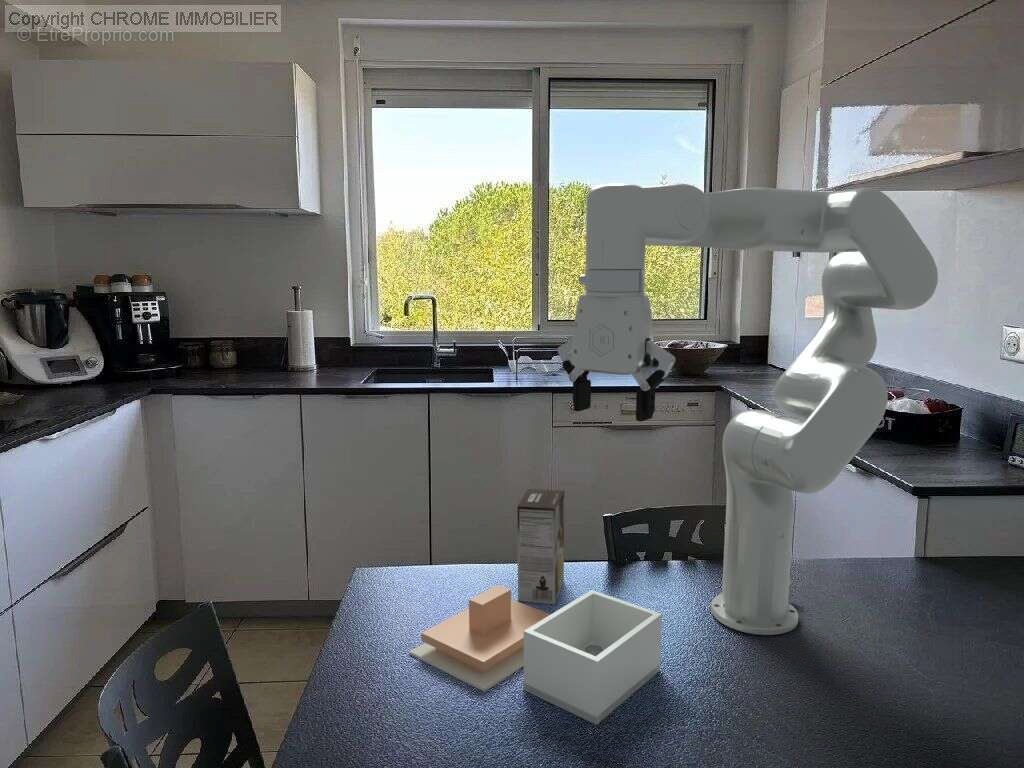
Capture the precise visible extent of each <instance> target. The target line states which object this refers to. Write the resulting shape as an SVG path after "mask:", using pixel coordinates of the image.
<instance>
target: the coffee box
mask: <svg viewBox="0 0 1024 768" xmlns="http://www.w3.org/2000/svg"><path fill="white" fill-rule="evenodd" d="M516 507H517V512H516V513H517V600H518V601H517V602H521V601H523V602H524V603H532V602H533V603H534V604H535V603H536V604H545V605H547V604H548V605H557V603H558V599H559V596H560V593H561V590H562V587H563V584H564V581H565V574H564V573H565V571H564V570H565V566H564V565H565V490H563V489H562V490H561V489H560V490H559V489H557V490H556V489H540V488H539V489H536V488H534V489H533V488H528V489H527V490H526V491H525V493H524V495H523V496H522V499H520V501H519V503H518V504H517V506H516Z"/></svg>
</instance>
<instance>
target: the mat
mask: <svg viewBox="0 0 1024 768" xmlns="http://www.w3.org/2000/svg"><path fill="white" fill-rule="evenodd" d="M408 652H409V655H410V656H412V657H415V658H416V659H419V660H420V661H422V662H424V663H426V664H428V665H431V666H432V667H434V668H437V669H438V670H440V671H442V672H445V673H447V674H448V675H450V676H452V677H454V678H456V679H458V680H460V681H462V682H464V683H465V684H468V685H470V686H471V687H474V688H476V689H478V690H480V691H482V692H483V693H485V692H487V691H488V690H490V689H491V688H492V687H494V686H496V685H497V684H499V683H500V682H502V681H503V680H505V679H506V678H508V677H509V676H511V675H512V674H514V673H515V672H516V671H519V670H520V669H522V668H524V647H523V648H522V649H520V650H519V651H517V652H515V653H514V654H512V655H511V656H509V657H508V658H506V659H504V660H503V661H501V662H500V663H498V664H497V665H495V666H493V667H492V668H490V669H489V670H487V671H486V672H484V673H482V672H480V671H478V670H476V669H474V668H472V667H470V666H468V665H466V664H463V663H461V662H459V661H457V660H455V659H453V658H451V657H449V656H447V655H445V654H443V653H440V652H438V651H436V648H435V647H433V646H431V645H429V644H427V643H424V642H423V643H422V644H420V645H419V646H416V647H415V648H412V649H410V650H409V651H408Z"/></svg>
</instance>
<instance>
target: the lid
mask: <svg viewBox="0 0 1024 768" xmlns="http://www.w3.org/2000/svg"><path fill="white" fill-rule="evenodd" d="M551 614H552V613H549V612H546V611H543V610H540V609H538V608H536V607H533V606H531V605H527V604H525V603H522V602H521V601H517V600H515V599H512V589H511V588H508V587H504V586H502V585H500V584H497V585H494V586H492V587H490V588H488V589H487V590H485V591H483V592H481V593H479V594H477V595H475V596H473V597H471V598H469V599H468V607H467V608H466V609H464V610H462V611H460V612H458V613H456V614H454V615H453V616H450V617H449V618H447V619H445V620H443V621H441V622H440V623H437V624H435V625H433V626H432V627H430V628H428V629H426V630H424V631H422V632H421V633H420V637H421V638H420V640H421V642H423V644H424V643H427V644H429V645H431V646H433V647H435V648H436V651H438V652H440V653H443V654H445V655H447V656H449V657H451V658H453V659H455V660H457V661H459V662H461V663H463V664H466V665H468V666H470V667H472V668H474V669H476V670H478V671H480V672H482V673H484V672H486V671H487V670H489V669H490V668H492V667H493V666H495V665H497V664H498V663H500V662H501V661H503V660H504V659H506V658H508V657H509V656H511V655H512V654H514V653H515V652H517V651H519V650H520V649H522V648H523V647H524V630H526V629H528V628H529V627H531V626H533V625H534V624H536V623H538V622H539V621H541V620H543V619H544V618H546V617H548V616H549V615H551Z"/></svg>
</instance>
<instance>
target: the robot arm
mask: <svg viewBox="0 0 1024 768" xmlns="http://www.w3.org/2000/svg"><path fill="white" fill-rule="evenodd" d="M897 205H898V204H896V203H895V202H894V201H893V200H892V199H891V198H890V197H889V196H888V195H886V193H884V192H882V191H881V190H879V189H876V188H873V187H859V188H854V189H853V188H851V189H844V190H843V189H842V190H835V191H818V190H804V189H803V190H800V189H787V188H786V189H784V188H776V187H775V188H773V187H765V186H764V187H763V186H761V187H746V188H736V189H729V190H722V191H721V190H720V191H714V192H713V191H712V192H704V191H702V189H700V188H699V187H696V186H694V185H691V184H688V183H672V184H665V185H654V186H653V185H652V186H640V185H637V184H631V183H630V184H629V183H607V184H600V185H597V186H594V187H592V188H591V189H589V191H588V193H587V196H586V209H585V210H586V213H585V214H586V220H585V221H586V222H585V223H586V224H585V226H586V227H585V228H586V229H585V231H586V232H585V271H584V274H581V275H579V277H578V283H579V284H580V285H581V286H584V292H585V293H584V294H583V293H582V294H580V295H579V297H578V301H577V305H576V309H575V315H574V316H575V317H574V323H573V330H572V332H573V333H572V339H571V340H569V341H567V342H565V343H563V344H562V345H559V346H558V347H557V353H558V355H559V358H560V361H561V362H562V368H563V369H564V371H565V372H566V374H567V375H568V379H569V381H570V382H572V402H573V411H574V412H581V411H585V410H588V409H590V408H591V407H592V406H591V405H592V404H591V403H592V401H591V399H592V397H591V396H592V382H591V379H588V377H589V376H590V374H592V372H595V373H600V374H601V373H603V374H610V375H618V376H619V375H621V376H624V375H625V376H630V375H632V377H633V378H634V380H635V382H636V383H637V384H638V386H639V387H640V389H637V390H636V394H635V395H636V399H635V401H636V402H635V403H636V404H635V420H636V421H637V422H644V421H648V420H651V419H652V418H653V417H654V416H653V415H654V413H655V410H656V409H655V408H656V389H657V388H659V387H660V385H661V384H662V383H663V382H664V381H665V380H666V379H667V378H668V377H669V373H670V372H671V370H672V368H673V366H674V365H675V363H676V357H675V356H674V355H673V354H672V353H670V352H669V351H668V350H666V349H664V348H663V347H661V346H660V345H658V344H657V343H655V342H654V326H653V317H652V308H651V303H650V299H649V295H647V294H646V295H645V278H646V275H645V272H646V271H645V269H646V246H652V247H653V246H655V247H657V246H658V247H685V248H686V247H688V248H691V247H692V248H708V249H709V248H710V249H711V248H712V249H718V250H719V249H720V250H729V251H750V252H751V251H752V252H788V253H789V252H791V253H792V252H793V253H817V254H818V253H821V254H822V253H823V254H824V253H838V254H836V255H834V256H833V257H832V258H830V260H828V261H827V264H826V266H824V269H823V272H822V275H821V291H822V298H823V299H822V300H823V317H822V322H821V325H820V326H819V329H818V330H817V331H816V333H815V334H814V335H813V337H812V338H811V339H810V340H809V341H808V343H807V344H805V347H804V348H803V349H802V350H801V351H800V352H799V354H798V355H797V356H796V357H795V358H794V359H793V361H792V362H791V363H790V364H789V366H788V367H787V368H786V369H785V371H784V372H783V373H782V374H781V376H780V377H779V378H778V380H777V381H776V384H775V386H774V389H773V399H774V402H775V404H776V406H777V407H778V408H779V410H781V411H782V412H783V413H785V414H786V415H784V414H781V413H776V412H773V411H769V410H763V409H749V410H746V411H745V410H744V411H742V412H739V413H738V414H736V415H735V416H734V417H732V419H730V420H729V422H728V423H727V425H726V427H725V429H724V432H723V436H722V443H721V444H722V457H723V463H724V464H723V465H724V469H725V479H726V480H725V481H726V506H725V521H724V522H725V529H724V543H723V544H724V547H723V549H724V550H723V568H722V569H723V570H722V571H723V572H722V589H721V591H722V592H721V593H719V594H717V595H715V597H713V598H712V600H711V603H710V611H711V614H712V615H713V617H714V618H715V619H716V620H717V621H718V622H719V623H721V624H722V625H724V626H726V627H728V628H730V629H733V630H735V631H739V632H742V633H746V634H751V635H758V636H759V635H761V636H775V635H781V634H786V633H789V632H791V631H793V630H795V628H797V626H798V623H799V612H798V610H797V609H796V607H794V605H792V604H791V603H790V602H789V593H790V592H789V591H790V585H791V584H792V579H791V575H790V574H791V560H792V559H791V558H792V545H793V544H792V543H793V532H794V531H793V530H794V529H793V528H794V519H795V517H794V516H795V505H794V504H795V502H794V495H793V492H795V493H800V494H806V495H808V494H810V495H811V494H815V493H819V492H820V491H822V490H824V489H825V488H827V487H828V486H829V485H831V484H832V483H833V482H834V481H835V480H836V479H838V476H839V475H840V474H841V473H842V471H844V470H845V468H846V467H847V465H848V464H849V463H850V462H851V461H852V460H853V458H854V457H855V456H856V454H857V453H859V451H860V450H861V448H863V446H864V445H865V444H866V442H867V441H868V440H869V438H871V436H872V435H873V433H874V432H875V431H876V430H877V428H878V427H879V425H880V424H881V422H882V420H883V418H884V415H885V413H886V409H887V406H888V401H889V400H888V396H889V395H888V388H887V385H886V382H885V381H884V379H883V378H882V376H881V374H879V373H878V372H877V371H876V370H874V369H872V368H870V367H867V365H868V364H869V362H870V361H871V359H872V358H873V357H874V354H875V352H876V350H877V345H878V338H877V332H876V327H875V326H876V325H875V322H874V317H873V311H872V309H883V310H884V309H885V310H898V311H906V310H907V311H908V310H913V309H916V308H919V307H921V306H923V305H924V304H926V303H927V302H928V301H929V300H931V298H932V297H933V295H934V294H935V292H936V290H937V287H938V281H939V275H938V274H939V273H938V268H937V265H936V262H935V259H934V256H932V254H931V251H930V250H929V249H928V247H927V246H926V244H925V243H924V242H923V240H922V239H921V237H920V236H919V235H918V233H917V231H916V230H915V228H914V226H912V224H911V222H910V221H909V220H908V218H907V217H906V215H905V214H904V213H903V211H902V210H901V209H900V208H899V206H897ZM654 359H656V361H658V366H657V368H656V370H655V371H653V370H652V366H653V364H654V363H653V362H654ZM790 416H791V417H790Z"/></svg>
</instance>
